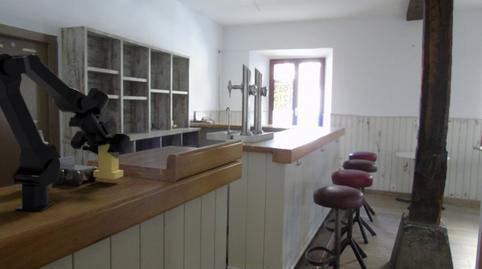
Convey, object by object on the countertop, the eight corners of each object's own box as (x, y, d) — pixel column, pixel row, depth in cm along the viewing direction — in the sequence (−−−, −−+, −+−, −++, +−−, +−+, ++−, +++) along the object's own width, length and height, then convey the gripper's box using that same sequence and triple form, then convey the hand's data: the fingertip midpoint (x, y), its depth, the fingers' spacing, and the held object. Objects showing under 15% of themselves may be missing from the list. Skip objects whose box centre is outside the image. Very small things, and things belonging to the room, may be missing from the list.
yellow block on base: (114, 179, 114) (114, 141, 113) (93, 176, 116) (93, 139, 115) (123, 176, 119) (123, 139, 118) (102, 174, 121) (102, 138, 120)
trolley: (80, 186, 111) (80, 161, 110) (51, 183, 113) (50, 159, 113) (99, 180, 120) (100, 157, 120) (72, 177, 123) (72, 155, 122)
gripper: (127, 108, 109) (144, 140, 121) (76, 106, 114) (97, 137, 125) (112, 135, 102) (132, 166, 114) (58, 131, 107) (83, 162, 118)
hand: (111, 156), depth 118 cm, fingers closed on yellow block on base, 5 cm apart
